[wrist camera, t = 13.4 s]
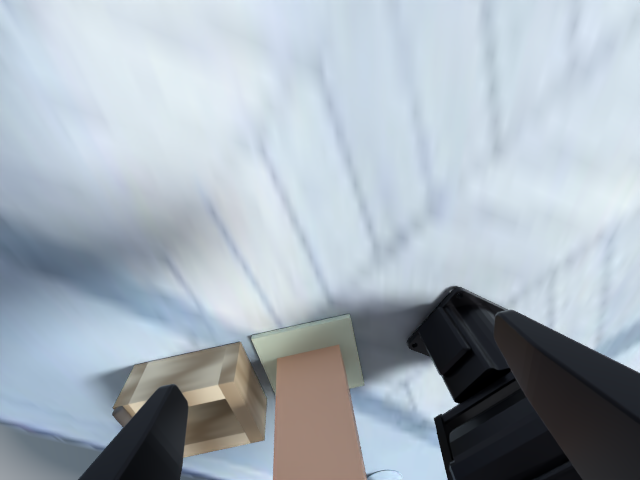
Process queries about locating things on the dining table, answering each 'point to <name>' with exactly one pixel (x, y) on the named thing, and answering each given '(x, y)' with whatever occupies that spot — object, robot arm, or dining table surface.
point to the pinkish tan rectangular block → (315, 419)
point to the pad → (310, 345)
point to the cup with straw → (385, 476)
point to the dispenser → (204, 396)
